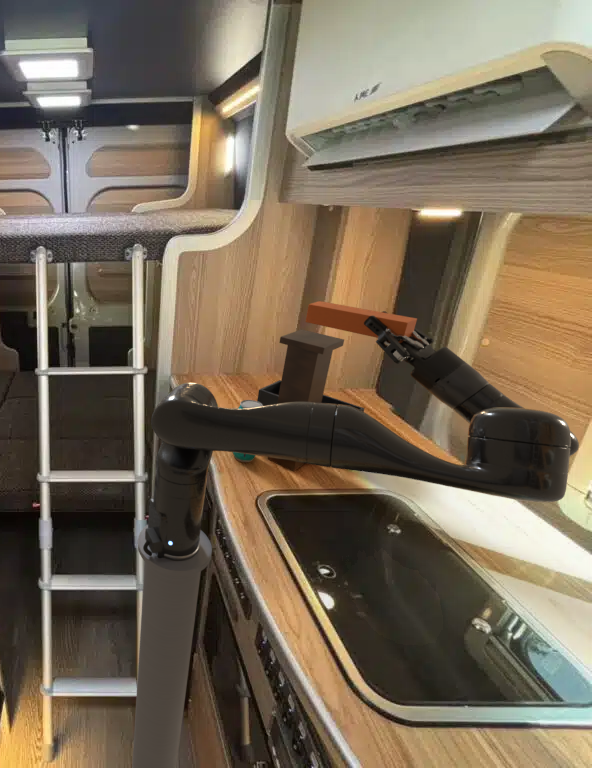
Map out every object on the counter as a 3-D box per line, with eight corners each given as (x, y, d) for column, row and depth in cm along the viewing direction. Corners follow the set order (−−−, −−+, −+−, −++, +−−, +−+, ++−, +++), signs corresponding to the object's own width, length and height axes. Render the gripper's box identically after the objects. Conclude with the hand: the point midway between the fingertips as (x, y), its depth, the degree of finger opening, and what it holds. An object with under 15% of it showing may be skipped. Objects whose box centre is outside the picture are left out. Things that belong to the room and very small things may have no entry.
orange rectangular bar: (411, 338, 91) (417, 318, 89) (402, 343, 88) (407, 322, 87) (316, 318, 105) (319, 300, 103) (305, 322, 102) (308, 304, 101)
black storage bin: (353, 451, 120) (364, 408, 115) (333, 465, 114) (345, 420, 109) (272, 419, 137) (279, 380, 132) (252, 430, 131) (258, 389, 126)
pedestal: (316, 462, 116) (344, 339, 103) (297, 475, 111) (324, 347, 98) (279, 446, 123) (301, 329, 110) (259, 457, 118) (280, 336, 105)
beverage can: (232, 462, 116) (239, 408, 110) (231, 450, 121) (238, 398, 115) (256, 465, 115) (265, 410, 109) (254, 452, 120) (262, 400, 114)
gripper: (479, 355, 87) (402, 296, 94) (452, 374, 79) (371, 308, 86) (444, 381, 92) (375, 324, 100) (416, 401, 84) (343, 336, 92)
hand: (373, 316), depth 93 cm, fingers closed on orange rectangular bar, 4 cm apart
